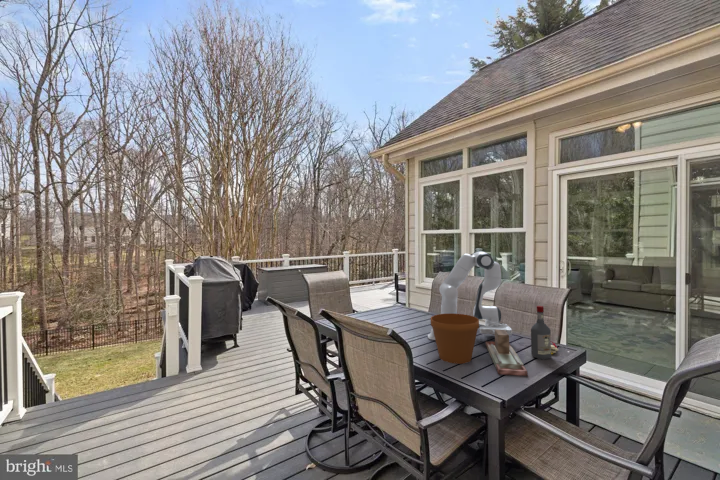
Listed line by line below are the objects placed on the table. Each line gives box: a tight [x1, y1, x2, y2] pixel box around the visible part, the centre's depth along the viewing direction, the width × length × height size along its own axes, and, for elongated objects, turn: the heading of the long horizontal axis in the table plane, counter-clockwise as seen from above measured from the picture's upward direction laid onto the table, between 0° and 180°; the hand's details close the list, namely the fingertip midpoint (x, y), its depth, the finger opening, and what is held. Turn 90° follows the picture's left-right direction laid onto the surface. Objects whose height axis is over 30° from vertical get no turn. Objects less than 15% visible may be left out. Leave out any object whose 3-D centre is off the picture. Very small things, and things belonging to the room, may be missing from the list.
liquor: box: [530, 305, 552, 360], centre depth 198 cm, size 9×9×30 cm
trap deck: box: [485, 340, 528, 377], centre depth 197 cm, size 14×48×4 cm, turn 167°
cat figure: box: [551, 341, 559, 355], centre depth 212 cm, size 10×9×25 cm
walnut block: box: [494, 329, 510, 354], centre depth 203 cm, size 6×12×11 cm, turn 167°
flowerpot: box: [430, 313, 480, 365], centre depth 200 cm, size 28×28×24 cm
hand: (497, 333), depth 217 cm, fingers closed
